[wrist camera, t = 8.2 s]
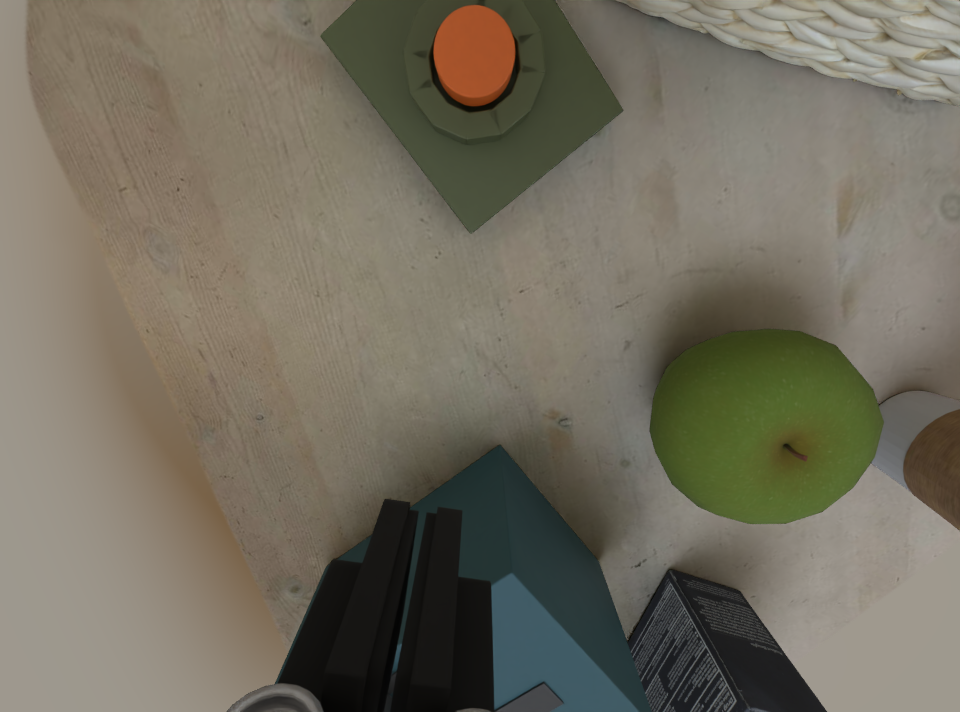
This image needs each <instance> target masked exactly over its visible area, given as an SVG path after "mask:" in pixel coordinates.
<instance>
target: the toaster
mask: <svg viewBox="0 0 960 712" xmlns="http://www.w3.org/2000/svg"><path fill="white" fill-rule="evenodd" d="M438 507H444V508H451V509H458V510H462V527H461V542H460V558H459V573H458V576H459V577H466V578H473V579H480V580H487V581H490V582H491V592H492V632H493V671H494V710H495V712H652V711H651V708H650V705H649V703H648V700H647V697H646V694H645V691H644V688H643V686H642V683H641V680H640V677H639V674H638V671H637V668H636V666H635V663H634V660H633V657H632V654H631V651H630V649H629V646H628V643H627V640H626V637H625V634H624V632H623V629H622V626H621V623H620V620H619V617H618V614H617V612H616V609H615V606H614V603H613V600H612V597H611V595H610V592H609V589H608V586H607V583H606V580H605V578H604V575H603V572H602V569H601V566H600V563H599V561H598V560H597V559H596V558H595V556H594V555H593V554H592V553H591V552H590V551H589V549H588V548H587V547H586V546H585V545H584V543H583V542H582V541H581V540H580V539H579V538H578V536H577V535H576V534H575V533H574V532H573V530H572V529H571V528H570V527H569V526H568V525H567V523H566V522H565V521H564V520H563V519H562V517H561V516H560V515H559V514H558V513H557V512H556V510H555V509H554V508H553V507H552V506H551V504H550V503H549V502H548V501H547V500H546V499H545V497H544V496H543V495H542V494H541V493H540V491H539V490H538V489H537V488H536V487H535V486H534V484H533V483H532V482H531V481H530V480H529V478H528V477H527V476H526V475H525V474H524V473H523V471H522V470H521V469H520V468H519V467H518V465H517V464H516V463H515V462H514V461H513V460H512V458H511V457H510V456H509V455H508V454H507V452H506V451H505V450H504V449H503V448H502V447H501V445H499V446H497V447H496V448H494V449H493V450H492V451H490V452H489V453H487V454H486V455H484V456H483V457H482V458H480V459H479V460H477V461H476V462H475V463H473V464H472V465H470V466H469V467H467V468H466V469H465V470H463V471H462V472H460V473H459V474H457V475H456V476H455V477H453V478H452V479H450V480H449V481H447V482H446V483H445V484H443V485H442V486H440V487H439V488H438V489H436V490H435V491H433V492H432V493H430V494H429V495H428V496H426V497H425V498H423V499H422V500H420V501H419V502H418V503H416V504H415V505H413V506H412V507H410V510H416V511H419V513H418V520H417V527H416V534H415V540H414V547H413V554H412V560H411V567H410V574H409V580H408V587H407V594H406V600H405V607H404V613H403V619H402V625H401V630H400V635H399V640H398V645H397V651H396V656H395V661H394V666H393V671H392V676H391V681H390V686H389V691H388V694H389V695H390V696H391V697H393V690H394V684H395V679H396V673H397V667H398V662H399V656H400V651H401V646H402V640H403V635H404V630H405V625H406V619H407V614H408V609H409V603H410V598H411V593H412V587H413V582H414V577H415V572H416V566H417V561H418V556H419V550H420V545H421V540H422V534H423V529H424V524H425V519H426V513H427V512H430V513H437V508H438ZM371 536H372V535H371ZM371 536H369V537H368V538H366V539H365V540H364V541H362V542H361V543H359V544H358V545H356V546H355V547H354V548H352V549H351V550H349V551H348V552H346V553H345V554H344V555H342V556H341V557H339V558H338V560H345V561H352V562H359V563H362V562H363V559H364V557H365V554H366V551H367V548H368V545H369V542H370V539H371ZM329 565H330V564H329ZM329 565H328V566H327V567H326V568H325V571H324V573H323V575H322V577H321V580H320V582H319V584H318V586H317V589H316V591H315V593H314V596H313V598H312V600H311V602H310V605H309V607H308V609H307V612H306V614H305V616H304V618H303V621H302V623H301V625H300V628H299V630H298V632H297V634H296V637H295V639H294V641H293V644H292V646H291V648H290V650H289V653H288V655H287V658H286V659H285V662H284V664H283V666H282V669H281V671H280V673H279V676H278V678H277V680H276V682H275V684H277V683H278V681H279V678H280V676H281V674H282V672H283V669H284V667H285V665H286V662H287V660H288V658H289V656H290V653H291V651H292V649H293V647H294V644H295V642H296V640H297V638H298V635H299V633H300V631H301V628H302V626H303V624H304V622H305V619H306V617H307V615H308V613H309V610H310V608H311V606H312V604H313V601H314V599H315V597H316V594H317V592H318V590H319V588H320V585H321V583H322V581H323V579H324V576H325V574H326V572H327V570H328V567H329Z"/></svg>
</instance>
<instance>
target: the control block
mask: <svg viewBox="0 0 960 712" xmlns="http://www.w3.org/2000/svg"><path fill="white" fill-rule="evenodd" d="M468 5H480V6H485V7H487V8H490V9H492V10H493V11H495V12H496V13H498V14H499V15H500V16H501V17H502V18H503V19H504V20H505V22H506V23H507V24H508V26H509V28H510V30H511V32H512V35H513V38H514V43H515V61H514V66H513V71H512V75H511V78H510V81H509V83H508V85H507V87H506V89H505V90H504V92H503V93H502V94H501V95H500V96H499V97H498V98H497V99H495V100H494V101H492V102H491V103H489V104H486V105H482V106H467V105H464V104H461V103H459V102H457V101H456V100H454V99H453V98H452V97H451V96H450V95H448V93H447V92H446V91H445V89H444V88H443V86H442V84H441V82H440V80H439V77H438V73H437V70H436V66H435V62H434V54H433V50H434V41H435V37H436V34H437V31H438V29H439V27H440V25H441V24H442V22H443V21H444V20H445V18H446V17H447V16H448V15H449V14H451V13H452V12H453V11H455V10H457V9H459V8H461V7H464V6H468ZM321 38H322V39H323V41H324V42H325V43H326V45H327V46H328V47H329V48H330V50H331V51H332V52H333V54H334V55H335V56H336V58H337V59H338V60H339V62H340V63H341V64H342V66H343V67H344V68H345V70H346V71H347V72H348V73H349V75H350V76H351V77H352V79H353V80H354V81H355V83H356V84H357V85H358V87H359V88H360V89H361V91H362V92H363V93H364V95H365V96H366V97H367V98H368V100H369V101H370V102H371V104H372V105H373V106H374V108H375V109H376V110H377V112H378V113H379V114H380V116H381V117H382V118H383V120H384V121H385V122H386V123H387V125H388V126H389V127H390V129H391V130H392V131H393V133H394V134H395V135H396V137H397V138H398V139H399V141H400V142H401V143H402V145H403V146H404V147H405V148H406V150H407V151H408V152H409V154H410V155H411V156H412V158H413V159H414V160H415V162H416V163H417V164H418V166H419V167H420V168H421V170H422V171H423V172H424V173H425V175H426V176H427V177H428V179H429V180H430V181H431V183H432V184H433V185H434V187H435V188H436V189H437V191H438V192H439V193H440V194H441V196H442V197H443V198H444V200H445V201H446V202H447V204H448V205H449V206H450V208H451V209H452V210H453V212H454V213H455V214H456V216H457V217H458V218H459V219H460V221H461V222H462V223H463V225H464V226H465V227H466V229H467V230H468V231H469V233H470V234H472V233H473V232H474V231H475V230H477V229H478V228H479V227H480V226H481V225H483V224H484V223H485V222H486V221H488V220H489V219H490V218H491V217H493V216H494V215H495V214H496V213H498V212H499V211H500V210H501V209H503V208H504V207H505V206H506V205H507V204H509V203H510V202H511V201H512V200H514V199H515V198H516V197H517V196H519V195H520V194H521V193H522V192H524V191H525V190H526V189H527V188H529V187H530V186H531V185H532V184H533V183H535V182H536V181H537V180H538V179H540V178H541V177H542V176H543V175H545V174H546V173H547V172H548V171H550V170H551V169H552V168H553V167H555V166H556V165H557V164H558V163H559V162H561V161H562V160H563V159H564V158H566V157H567V156H568V155H569V154H571V153H572V152H573V151H574V150H576V149H577V148H578V147H579V146H580V145H582V144H583V143H584V142H585V141H587V140H588V139H589V138H590V137H592V136H593V135H594V134H595V133H597V132H598V131H599V130H600V129H602V128H603V127H604V126H605V125H606V124H608V123H609V122H610V121H611V120H613V119H614V118H615V117H616V116H618V115H619V114H620V113H621V112H623V109H622V107H621V105H620V104H619V102H618V101H617V99H616V97H615V96H614V94H613V93H612V91H611V89H610V88H609V86H608V85H607V83H606V81H605V80H604V78H603V77H602V75H601V73H600V72H599V70H598V69H597V67H596V65H595V64H594V62H593V61H592V59H591V57H590V56H589V54H588V53H587V51H586V50H585V48H584V46H583V45H582V43H581V42H580V40H579V38H578V37H577V35H576V34H575V32H574V30H573V29H572V27H571V26H570V24H569V22H568V21H567V19H566V18H565V16H564V14H563V13H562V11H561V10H560V8H559V6H558V5H557V3H556V2H555V0H356V1H355V2H354V3H353V4H352V5H351V6H350V7H349V8H348V9H347V10H346V11H345V12H344V13H343V14H342V15H341V16H340V17H339V18H338V19H337V20H336V21H335V22H334V23H333V24H332V25H331V26H330V27H328V28H327V29H326V30H325V31H324V32H323V33H322V34H321Z"/></svg>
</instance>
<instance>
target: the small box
mask: <svg viewBox="0 0 960 712" xmlns="http://www.w3.org/2000/svg"><path fill="white" fill-rule="evenodd" d="M628 646H629V649H630V651H631V654H632V657H633V660H634V663H635V666H636V668H637V671H638V674H639V677H640V680H641V683H642V686H643V688H644V691H645V694H646V697H647V700H648V703H649V705H650V708H651V711H652V712H827V711H826V710H825V708H824V707H823V706H822V704H821V703H820V702H819V700H818V698H817V697H816V696H815V694H814V693H813V692H812V690H811V689H810V688H809V686H808V685H807V684H806V682H805V681H804V679H803V678H802V677H801V675H800V674H799V672H798V671H797V670H796V668H795V667H794V665H793V664H792V663H791V661H790V660H789V659H788V657H787V656H786V655H785V653H784V652H783V650H782V649H781V648H780V646H779V645H778V643H777V642H776V641H775V639H774V638H773V636H772V635H771V634H770V632H769V631H768V629H767V628H766V627H765V625H764V624H763V623H762V621H761V620H760V618H759V617H758V616H757V614H756V613H755V611H754V610H753V609H752V607H751V606H750V605H749V603H748V602H747V600H746V599H745V597H744V596H743V594H742V593H741V592H740V591H738V590H735V589H732V588H729V587H726V586H723V585H719V584H716V583H713V582H710V581H707V580H704V579H700V578H697V577H694V576H691V575H687V574H684V573H681V572H678V571H675V570H669V571H668V573H667V574H666V576H665V578H664V580H663V581H662V583H661V585H660V587H659V588H658V590H657V592H656V594H655V595H654V597H653V599H652V601H651V603H650V604H649V606H648V608H647V610H646V612H645V613H644V615H643V617H642V619H641V620H640V622H639V624H638V626H637V628H636V629H635V631H634V633H633V635H632V636H631V638H630V640H629V642H628Z"/></svg>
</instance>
